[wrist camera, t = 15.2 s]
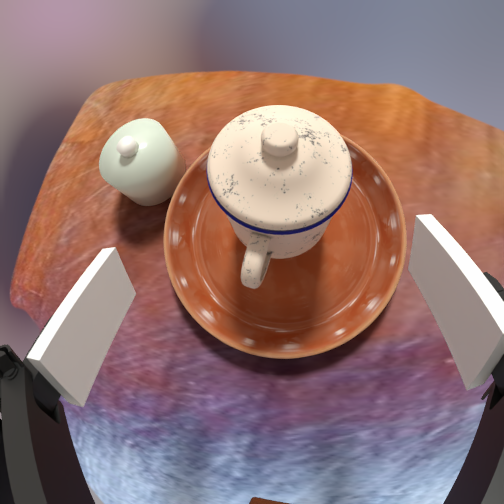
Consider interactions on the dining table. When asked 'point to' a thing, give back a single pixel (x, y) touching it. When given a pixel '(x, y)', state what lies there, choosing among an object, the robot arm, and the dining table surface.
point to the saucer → (288, 268)
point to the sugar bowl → (142, 162)
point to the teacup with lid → (278, 182)
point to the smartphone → (264, 501)
